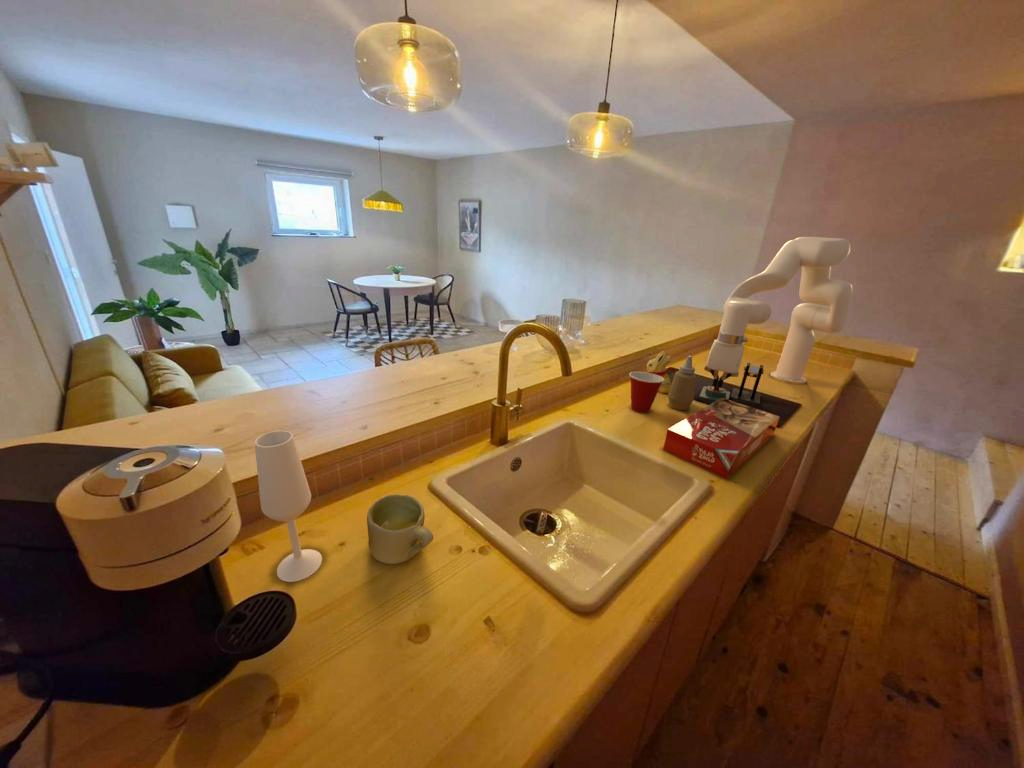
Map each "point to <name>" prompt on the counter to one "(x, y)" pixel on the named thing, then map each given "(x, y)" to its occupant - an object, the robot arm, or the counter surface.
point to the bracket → (747, 395)
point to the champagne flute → (285, 497)
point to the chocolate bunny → (660, 370)
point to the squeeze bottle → (683, 386)
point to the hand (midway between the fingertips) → (716, 388)
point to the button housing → (713, 394)
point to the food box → (721, 436)
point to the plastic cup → (644, 390)
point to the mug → (397, 529)
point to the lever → (753, 371)
